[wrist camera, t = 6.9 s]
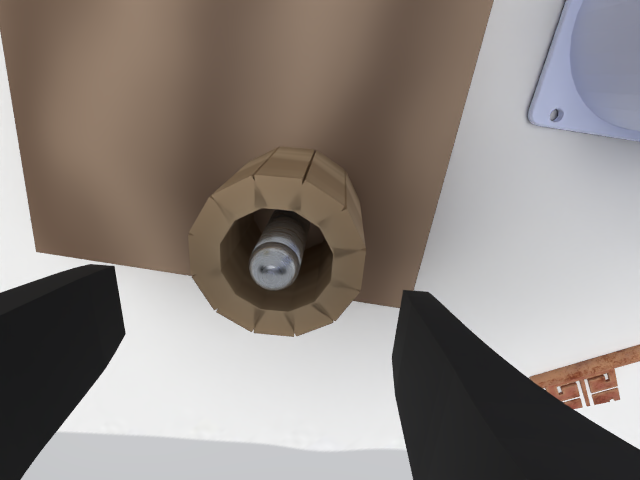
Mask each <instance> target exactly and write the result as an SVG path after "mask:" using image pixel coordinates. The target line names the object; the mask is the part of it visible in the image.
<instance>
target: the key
mask: <svg viewBox="0 0 640 480" xmlns="http://www.w3.org/2000/svg"><path fill="white" fill-rule="evenodd" d="M638 361H640V345H637V346H634V347H630V348H627V349H623V350H620V351H617V352H613V353H610V354H606V355H603V356H600V357H596V358H593V359H589V360H586V361H582V362H579V363H576V364H572V365H569V366H565V367H562V368H558V369H555V370H552V371H548V372H545V373H542V374H538V375H535V376H531V377H530V380H532V381H533V382H534V383H536V384H537V385H538V386H540V387H541V388H546V391H547V392H549V393H550V394H551V395H553V396H554V397H556V398H557V399H559V400H560V401H564V400H568V399H572V398H575V397H579V396H580V395H579V391H578V387H577V384H576V381H580V384H581V388H582V391H583V395H584V398H585V402H586V405H587V406H590V403H589V399H588V395H587V391H586V386H585V382H584V379H587V380H588V384H589V387H590V391H591V393H594V392H598V391H601V390H605V389H609V388H612V387H616V386H618V385H617V380H616V375H615V369H614V368H617V367H620V366H624V365H628V364H631V363H635V362H638ZM605 373H607V375H608V378H609V379H607V380H605V376H604V375H603V374H605ZM572 382H573V383H572ZM568 383H569V384H568ZM565 384H566V385H565ZM561 385H562V386H561ZM558 386H560V387H561V390H562V392H561V393H558V390H557V387H558ZM592 398H593V401H594V405H596V404H601V403H606V402H610V400H611V399H614V401H616V400H620V396H619V391H618V388H614V389H610V390H607V391H603V392H600V393H596V394H592ZM563 403H564V404H566V405H567V406H569V407H570V408H572V409H577V408H582V403H581V399H580V398H578V399H574V400H571V401H567V402H563Z"/></svg>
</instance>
